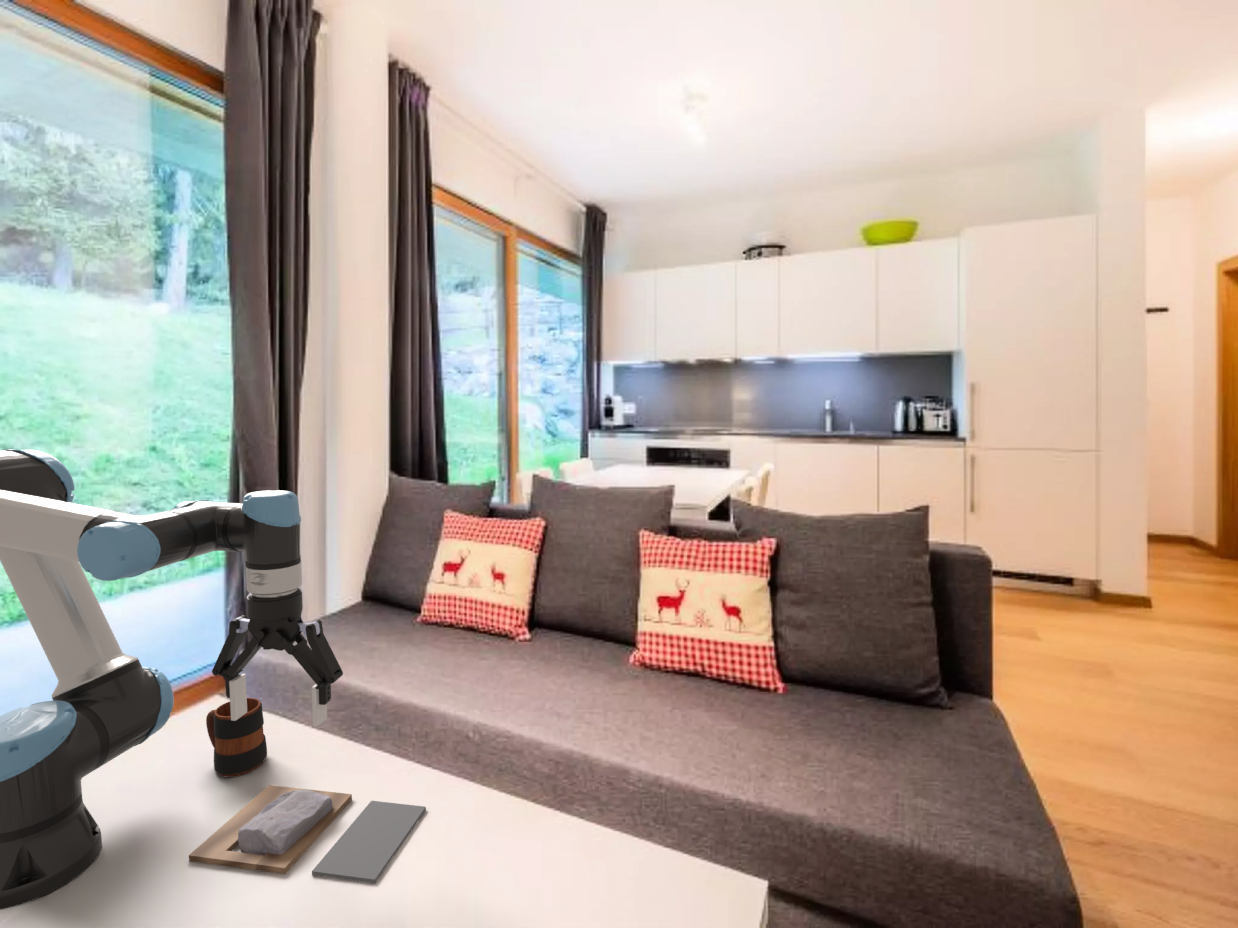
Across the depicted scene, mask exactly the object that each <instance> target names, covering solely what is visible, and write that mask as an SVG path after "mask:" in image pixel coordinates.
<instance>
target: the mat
mask: <svg viewBox="0 0 1238 928" xmlns="http://www.w3.org/2000/svg"><path fill="white" fill-rule="evenodd" d="M426 810H427V807H426V806H423V805H422V806H421V805H415V804H405V803H396V802H388V801H377V800H370V802H369V803H368V804H367V805H366V806H365V807H364V809H363V810H362V811H361V812H360V814H358V816H356V818H355V820H354V821H353V822H352V823H351V824H350V825H349V826H348V828H347V829H346V830H345V831H344V832H343V834H342V835H341V836H340V837H339V839H337V841H336V842H335V843H334V845H332V846H331V848H330V849H329V851H328V852H326V854H324V856H323V858H322V859H321V860H320V861H319V862H318V863H317V864H316V866H315V867H314V868H313V869H312V871H311V875H312V876H316V877H325V878H333V879H339V880H345V881H346V880H348V881H356V882H363V883H370V884H376V883H377V881H378V880H379V878H380V877H381V876H382V875H383V873H384V871H385V869H386V868H387V867H388V866H389V864H390V863H391V861H392V860H393V858H394V857H395V856H396V853H397V852H398V851H399V849H400V848H401V846H402V845H403V844H404V842H405V841H406V840H407V838H408V837H409V835H410V834H411V832H412V831H413V829H414V828H415V826H416V825H417V824H418V822H419V820H420V819H421V818H422V817H423V815H424V813H425V812H426Z"/></svg>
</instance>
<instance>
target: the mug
mask: <svg viewBox="0 0 1238 928" xmlns="http://www.w3.org/2000/svg"><path fill="white" fill-rule="evenodd" d="M263 711H264V710H263V704H262V702H261V701H260V699H257V698H253V697H247V713H245V714H244V715H243V716H241V717H240V718H239V719H237V720H236V721H231V709H230V701H227V702H224V703H223V704H220V705H219V706H218V707H217V708H216V709H212V710H210V711H208V713H207V715H206V720H205V722H206V724H205V725H206V731H207V733H208V734H207V735H208V739H209V740H210V743H211V745H212V746H213V768H214V769H213V770H214V772H215V773H217V774H218V775H219V776H220V777H223V778H237V777H240V776H243V775H247V774H250V773H252V772H254V771H256V770H257V769H259V768H260V767H261V766H262V765H263V764H264V762H265V760H266V759H267V756H268V747H267V739H266V735H265V733H264V724H265V720H264V712H263Z"/></svg>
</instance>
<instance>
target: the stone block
mask: <svg viewBox="0 0 1238 928" xmlns="http://www.w3.org/2000/svg"><path fill="white" fill-rule="evenodd" d="M302 789H303V790H293V791H291V792H287V793H284V794H282V795H280V796H279V797H278V798H277V799H276V800H274V801H273V802H271V803H269V804H268V805H267V806H266V807H265V808H264V809H263V810H262V811H261V812H260V813H259V814H258V815H257V816H255V817H254V818H253V819H252V820H250V821H249V822H248V823H246V824H245V825H244V826H243V827H241V828H240V829H239V832H238V843H239V845H238V847H239V850H240V851H242V852H243V853H249V854H257V855H265V854H266V853H267V852H268V853H272V854H278V855H281V854H283V853H285V852H286V851H287V850H288V849H289V848H290V847H291V846H292V845H293V844H295V843H296V842H297V841H298V840H299V839H300V838H301V837H302V836H303V835H304V834H306V833H307V832H308V831H309V830H310V829H311V828H312V827H313V826H314V825H315V824H316V823H318V822H319V821H320V820H321V819H322V818H323V817H324V816H325V815H326V814H328V813H329V812H330V811H331V809H332V803H333V802H332V800H331V797H329V796H328V795H324V794H322V793H317V792H314V791H310V790H311V789H309V790H305V789H306V788H302Z"/></svg>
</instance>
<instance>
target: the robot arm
mask: <svg viewBox="0 0 1238 928" xmlns="http://www.w3.org/2000/svg"><path fill="white" fill-rule="evenodd" d="M73 491H75V483H74V480H73V477H72V475H71V473H70V472H69V470H68V468H67V467H66V466H65V464H64V463H62V462H61V461H60V460H59V459H57V457H55V456H53V455H52V454H49V453H45V452H43V451H41V450H36V449H16V448H13V449H10V448H7V449H1V450H0V563H1V565H2V567H3V569H4V572H5V574H6V577H7V578H8V580H9V582H10V584H11V586H12V588H13V590H14V592H15V594H16V596H17V598H18V600H19V602H20V605H21V607H22V610H23V611H24V613H25V614H26V617H27V618H28V621H29V623H30V625H31V628H32V629H33V632H34V633H35V635H36V638H37V639H38V642H39V643H40V646H41V648H42V650H43V652H44V655H46V658H47V660H48V662H49V664H50V666H51V668H52V670H53V672H54V674H55V676H56V679H57V685H56V686H55V689H53V691H52V694H51V699H52V700H46V701H45V700H44V701H41V702H40V701H39V702H35V703H31V704H30V705H29V706H27V707H19V708H16V709H13V710H11V711H9V712H7V713H4V714H3V715H0V910H4V909H8V908H13V907H15V906H16V907H17V906H20V905H23V904H26V903H29V902H31V901H34V900H36V899H38V898H42V897H44V896H45V895H48V894H49V893H52V892H54V891H55V890H58V889H59V888H61V887H63V886H64V885H66V884H68V883H69V882H71V881H73V879H75V878H77V877H78V876H79V875H81V874H82V873H84V872H85V871H86V870H87V869H88V868H89V867H90V866H91V865H92V864H93V863H94V862H95V860H97V858H98V856H99V855H100V853H101V851H102V848H103V842H102V831H101V829H100V827H99V825H98V823H97V822H96V820H95V818H94V817H93V816H92V814H91V812H90V811H89V809H88V808H87V807H86V805H85V803H84V800H83V788H82V779H83V778H84V777H85V776H88V775H89V774H90V773H92V772H94V771H95V770H96V771H97V769H99V768H101V767H103V766H104V765H106V764H108V763H109V762H110V761H112V760H114V759H115V758H117V757H119V756H120V755H122V754H124V753H126V752H127V751H129V750H130V749H132V748H133V747H136V746H138V745H141V744H143V743H144V742H145V741H146V740H148V739H149V738H150V737H151V736H153V735H154V734H156V733H157V732H159V731H160V730H161V729H162V728H164V726H165V725H166V723H167V722H168V720H169V719H170V716H171V713H172V712H173V708H174V702H175V701H174V699H175V698H174V697H175V695H174V690H173V687H172V685H171V682H170V680H169V679H168V677H167V676H166V675H165V674H164V672H162V671H161V672H159V670H158V669H157V668H155V667H152V666H142V664H141V661H140V660H139V657H138V656H137V657H136V656H133V655H128V654H125V653H123V651H122V649H121V646H120V645H119V642H118V640H117V639H116V638H117V637H115V634H114V632H113V630H112V628H111V626H110V624H109V622H108V619H107V618H106V615H105V614H104V611H103V609H102V607H101V605H100V603H99V601H98V599H97V597H96V594H95V592H94V590H93V588H92V585H90V582H89V580H88V578H87V575H86V574H85V572H87V573H90V574H91V576H92V577H93V578H94V579H96V580H100V581H104V582H107V581H108V582H111V581H117V580H121V579H126V578H127V579H128V578H133V577H137V576H141V575H143V574H144V573H146V572H150V571H153V570H156V569H160V568H163V567H166V566H169V565H171V564H175V563H178V562H182V561H185V560H189V559H192V558H195V557H198V556H201V555H202V556H203V555H205V554H209V553H212V552H217V551H218V552H219V551H222V552H236V553H244V561H245V580H246V581H245V582H246V591H247V592H248V595H247V596H246V610H247V611H246V613H247V615H244V614H241V616H238V617H236V618H234V619H232V620H231V621H230V622H229V629H228V634H227V637H226V640H225V641H224V644H223V646H222V648H221V650H220V653H219V654H218V657H217V659H216V661H215V663H214V665H213V667H212V670H211V673H212V675H214V676H216V677H217V676H218V675H219V676H221V677H222V679H223V680H224V681H225V696H226V698H227V699H229V702H230V709H231V721H236V720H237V719H239V718H240V717H241V716H243V715H244V714H245V713H247V698H248V697H247V674H246V673H242V672H243V671H244V669H245V667H246V666H247V665H248V664H249V662H250V661H251V660H252V658H254V656H255V655H256V654H257V653H258V652H259V651H260V650H261V648H262V649H263V650H264V651H266V650H267V651H269V650H275V651H281V652H282V651H285V652H286V653H287V654H288V655H290V656H292V657H293V658H294V659H295V660H296V661H297V662H298V664H299V665H300V666H301V667H302V669H303V670H304V671H305V673H307V674H308V676H309V677H310V679H311V680H312V681H313V682H314V683H315V684H314V685H313V686H311V706H312V707H311V714H312V727H313V728H318V727H319V726H320V725H321V724H322V723H324V722H325V721H326V720H327V719H328V703H329V702H330V701H331V700H332V684H334V683H335V682H336V681H338V680H339V679H340V678H341V677H343V675H344V671H343V669H342V668H341V665H340V664H339V661H338V660H337V658H336V655H335V654H334V652H333V650H332V647H331V646H330V644H329V642H328V640H327V637H326V635H325V634H324V629H323V622H322V621H321V620H320V619H315V620H314V621H313V622H311V621H310V622H304V621H303V619H302V614H303V613H302V612H303V590H302V589H301V586H302V585H303V576H302V574H303V573H302V557H301V556H302V555H301V522H302V517H301V514H300V507H299V503H300V502H299V498H298V495H297V494H296V493H294V492H293V491H289V490H280V489H277V490H271V489H269V490H268V489H267V490H259V491H252V492H248V493H246V494H245V495H244V496H243V498H242V503H240V502H225V501H224V502H223V501H213V500H208V499H201V500H187V501H186V500H185V501H182V502H179V503H178V504H176V506H174V507H173V508H172V509H170V510H166V511H160V512H155V513H150V514H145V515H143V514H142V515H138V514H131V513H125V512H120V511H116V510H110V509H104V508H100V507H95V506H90V505H83V504H78V503H73V500H74V498H75V494H74V493H73ZM84 571H85V572H84ZM248 631H249V632H250V634H251V635H252V638H251V640H250V641H248V643H246V645H245V647H244V649H243V650H242V651H241V653H239V655H238V656H237V657H236V654H237V652H238V651H239V648H240V646H241V644H242V643H243V640H244V637H245V636H246V633H247V632H248ZM302 633H303V634H302ZM294 643H296V644H295V645H294ZM235 657H236V659H235ZM234 659H235V660H234Z"/></svg>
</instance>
